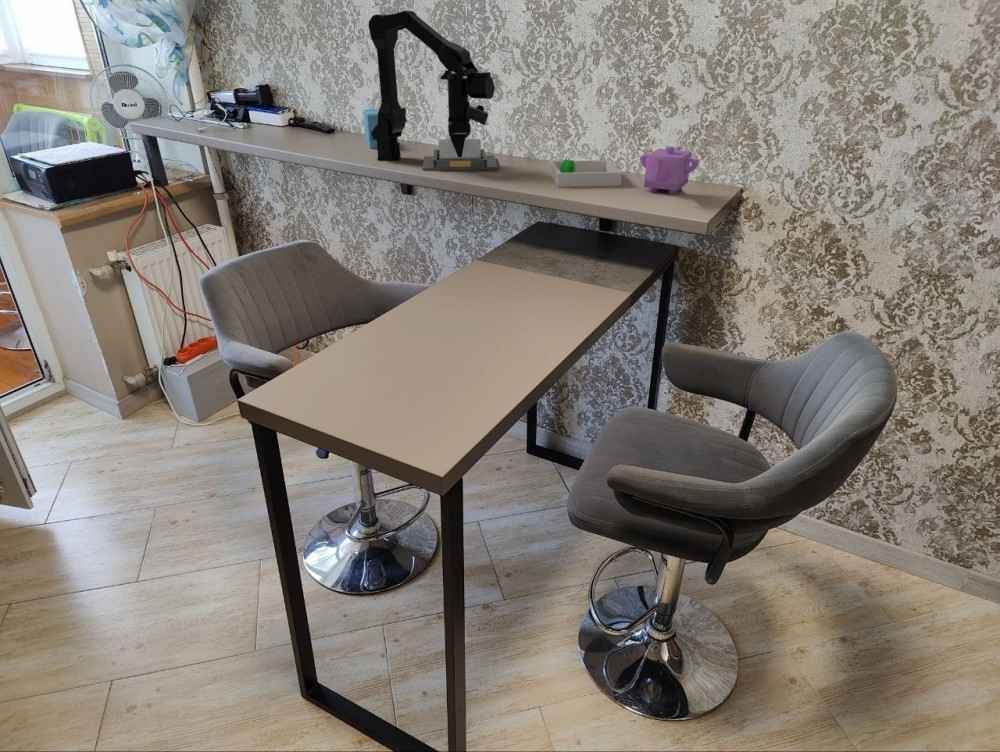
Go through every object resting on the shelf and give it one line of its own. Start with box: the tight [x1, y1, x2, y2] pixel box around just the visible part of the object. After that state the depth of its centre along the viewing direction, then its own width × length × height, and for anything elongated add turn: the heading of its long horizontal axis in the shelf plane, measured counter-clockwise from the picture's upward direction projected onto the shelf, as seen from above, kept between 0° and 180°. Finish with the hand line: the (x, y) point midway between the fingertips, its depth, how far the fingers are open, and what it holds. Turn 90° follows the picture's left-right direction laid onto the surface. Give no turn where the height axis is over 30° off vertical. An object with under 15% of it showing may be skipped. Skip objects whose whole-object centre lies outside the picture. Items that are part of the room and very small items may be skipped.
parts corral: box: [548, 159, 623, 188], centre depth 190 cm, size 17×17×4 cm
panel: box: [438, 138, 482, 160], centre depth 202 cm, size 12×3×7 cm, turn 94°
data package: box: [362, 108, 379, 150], centre depth 230 cm, size 12×4×12 cm, turn 17°
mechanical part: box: [560, 159, 575, 173], centre depth 187 cm, size 12×6×8 cm, turn 150°
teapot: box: [639, 145, 700, 195], centre depth 177 cm, size 15×13×11 cm
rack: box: [421, 148, 499, 172], centre depth 208 cm, size 22×18×3 cm
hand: (459, 154), depth 202 cm, fingers open, 9 cm apart
